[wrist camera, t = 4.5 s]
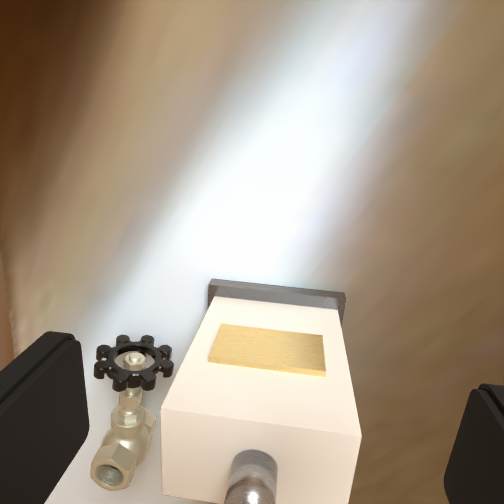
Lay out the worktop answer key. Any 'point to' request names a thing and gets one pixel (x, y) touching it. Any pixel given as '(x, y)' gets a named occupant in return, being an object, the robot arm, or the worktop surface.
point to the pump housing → (263, 401)
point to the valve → (128, 409)
